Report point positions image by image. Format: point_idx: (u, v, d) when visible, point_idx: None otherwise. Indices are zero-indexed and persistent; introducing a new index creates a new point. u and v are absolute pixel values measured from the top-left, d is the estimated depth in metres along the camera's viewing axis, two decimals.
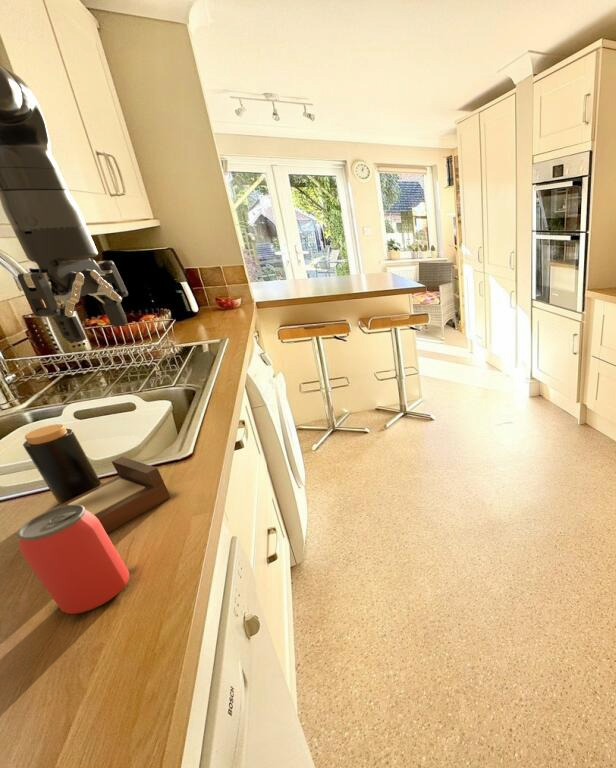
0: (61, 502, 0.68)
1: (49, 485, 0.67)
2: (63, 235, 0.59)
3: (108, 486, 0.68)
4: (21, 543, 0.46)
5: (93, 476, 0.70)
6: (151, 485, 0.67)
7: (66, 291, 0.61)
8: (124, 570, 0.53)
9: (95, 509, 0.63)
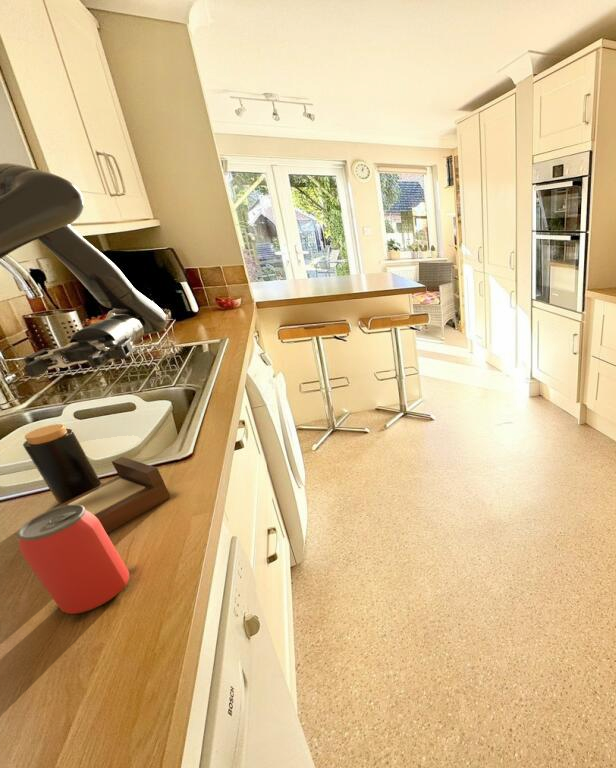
0: (61, 502, 0.68)
1: (49, 485, 0.67)
2: None
3: (108, 486, 0.68)
4: (21, 543, 0.46)
5: (93, 476, 0.70)
6: (151, 485, 0.67)
7: None
8: (124, 570, 0.53)
9: (95, 509, 0.63)
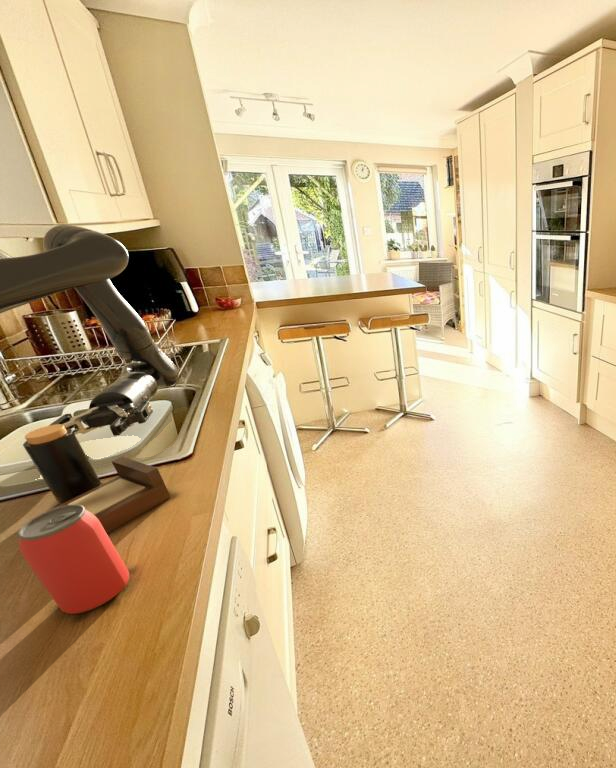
0: (61, 502, 0.68)
1: (49, 485, 0.67)
2: None
3: (108, 486, 0.68)
4: (21, 543, 0.46)
5: (93, 476, 0.70)
6: (151, 485, 0.67)
7: None
8: (124, 570, 0.53)
9: (95, 509, 0.63)
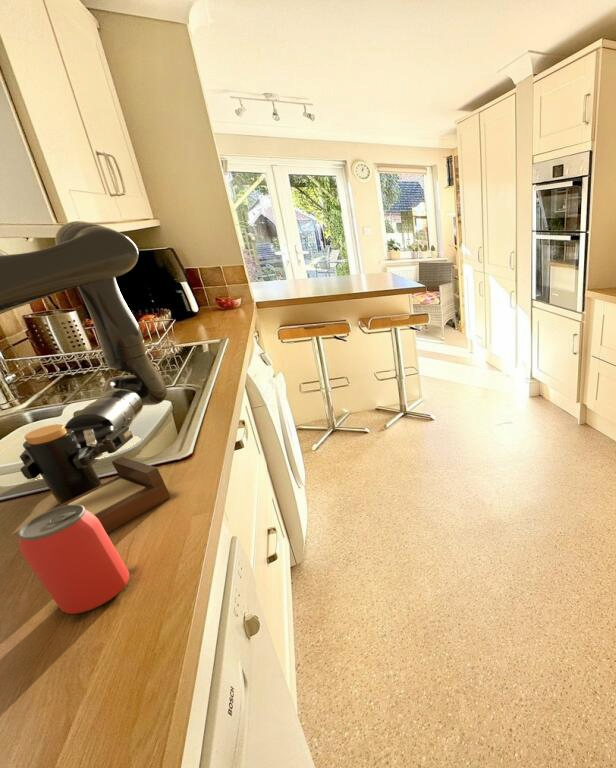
0: (61, 502, 0.68)
1: (49, 485, 0.67)
2: None
3: (108, 486, 0.68)
4: (21, 543, 0.46)
5: (93, 476, 0.70)
6: (151, 485, 0.67)
7: (98, 443, 0.73)
8: (124, 570, 0.53)
9: (95, 509, 0.63)
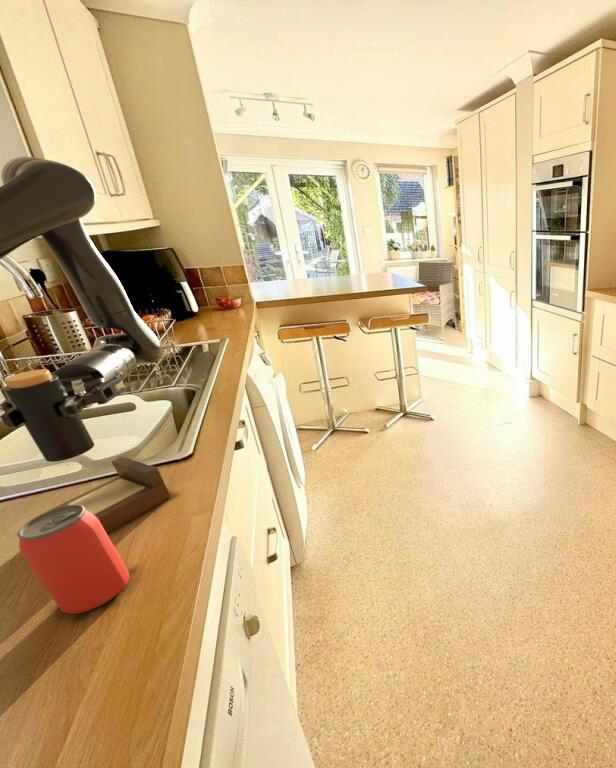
0: (46, 455, 0.62)
1: (33, 435, 0.61)
2: None
3: (108, 486, 0.68)
4: (21, 543, 0.46)
5: (82, 428, 0.65)
6: (151, 485, 0.67)
7: None
8: (124, 570, 0.53)
9: (95, 509, 0.63)
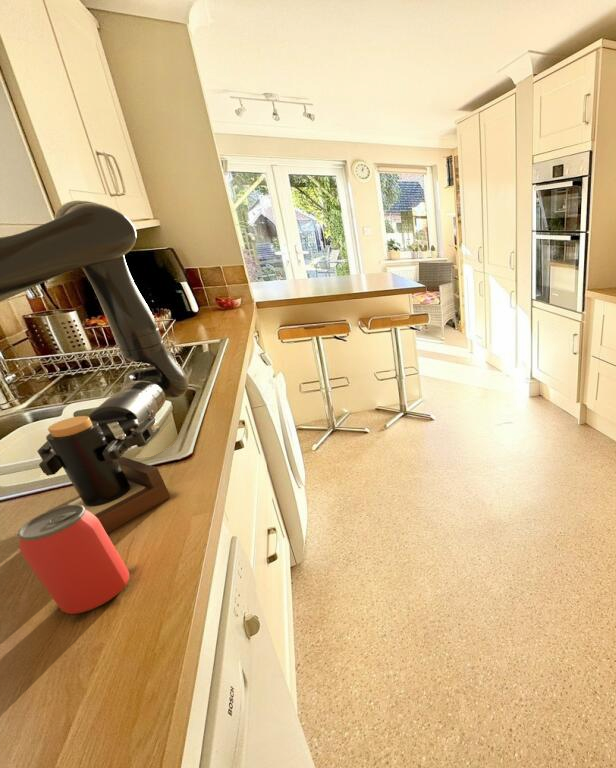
0: (86, 500, 0.63)
1: (73, 481, 0.62)
2: None
3: None
4: (21, 543, 0.46)
5: (120, 472, 0.65)
6: (151, 485, 0.67)
7: None
8: (124, 570, 0.53)
9: (95, 509, 0.63)
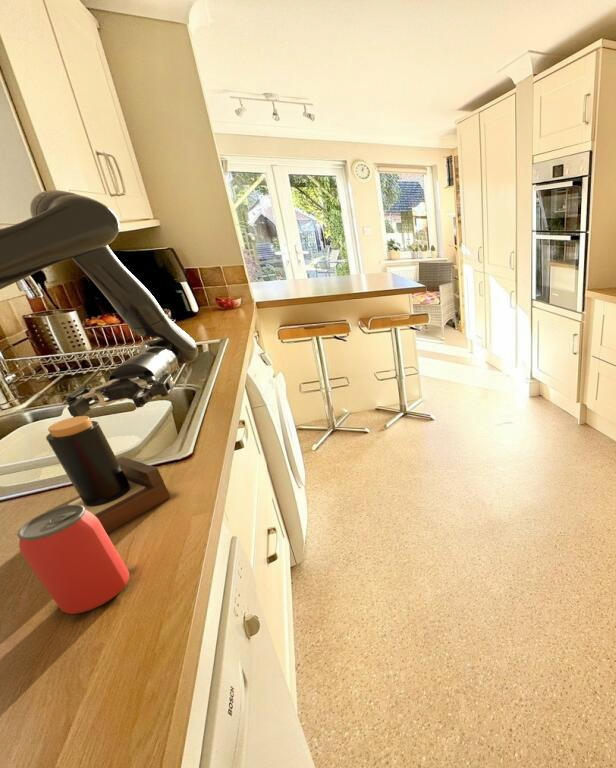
0: (86, 500, 0.63)
1: (73, 481, 0.62)
2: None
3: None
4: (21, 543, 0.46)
5: (120, 472, 0.65)
6: (151, 485, 0.67)
7: None
8: (124, 570, 0.53)
9: (95, 509, 0.63)
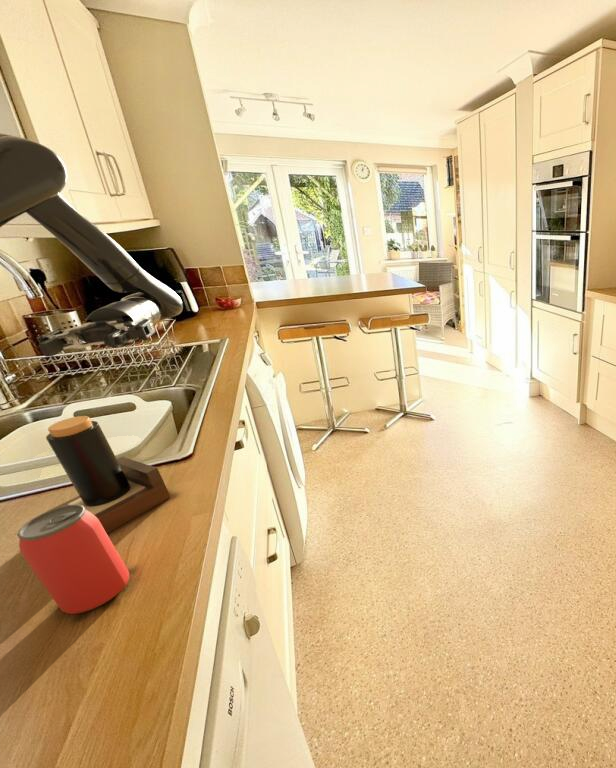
0: (86, 500, 0.63)
1: (73, 481, 0.62)
2: None
3: None
4: (21, 543, 0.46)
5: (120, 472, 0.65)
6: (151, 485, 0.67)
7: None
8: (124, 570, 0.53)
9: (95, 509, 0.63)
